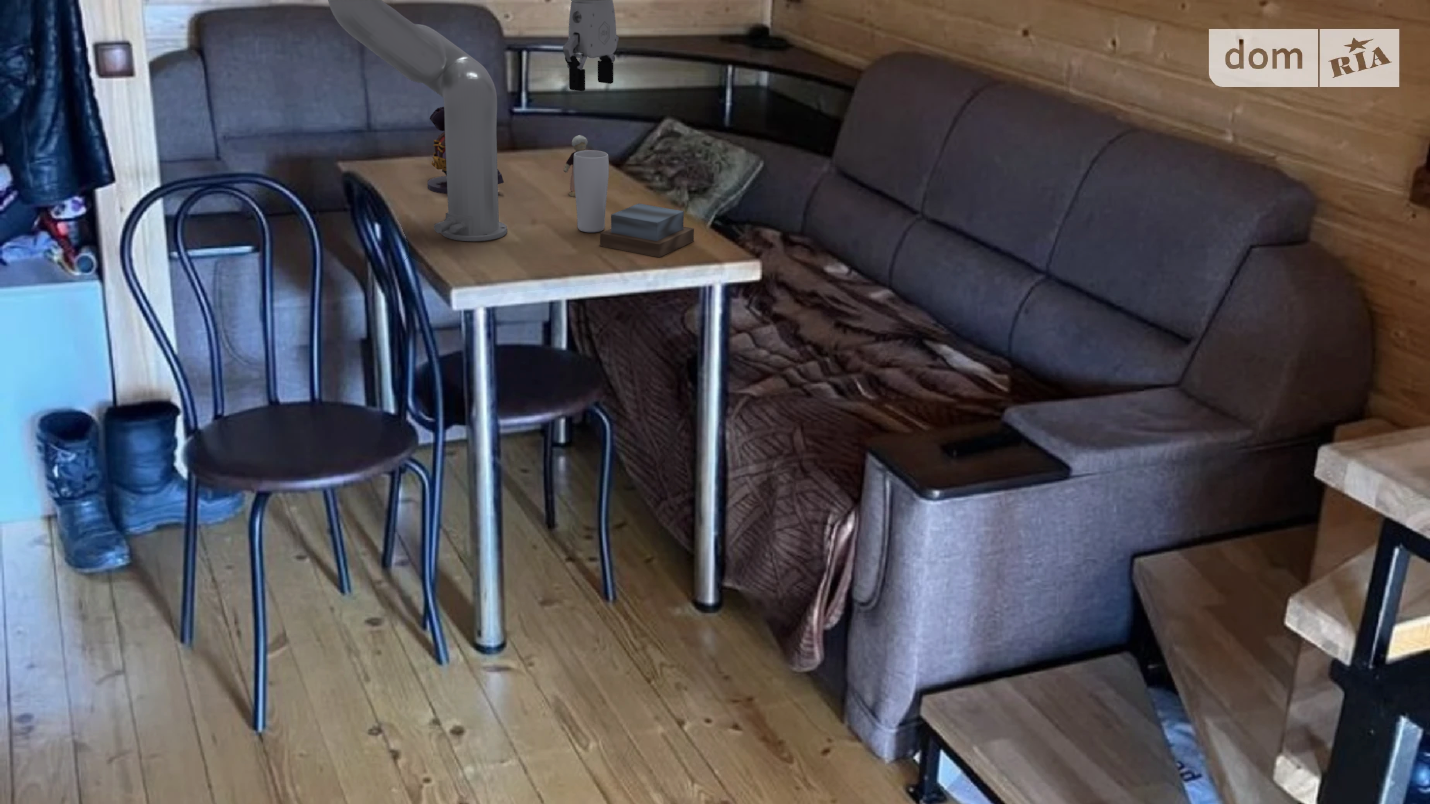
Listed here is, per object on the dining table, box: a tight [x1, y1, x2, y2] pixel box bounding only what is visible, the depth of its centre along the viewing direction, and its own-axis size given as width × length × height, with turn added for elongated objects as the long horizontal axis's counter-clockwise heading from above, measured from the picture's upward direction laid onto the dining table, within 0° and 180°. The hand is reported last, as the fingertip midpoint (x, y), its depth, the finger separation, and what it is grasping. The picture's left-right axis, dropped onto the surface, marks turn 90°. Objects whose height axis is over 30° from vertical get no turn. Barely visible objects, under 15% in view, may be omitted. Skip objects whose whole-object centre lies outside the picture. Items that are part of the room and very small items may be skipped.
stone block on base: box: [599, 203, 695, 258], centre depth 273 cm, size 13×13×6 cm
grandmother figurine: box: [563, 134, 589, 198], centre depth 304 cm, size 8×4×13 cm, turn 143°
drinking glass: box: [573, 149, 610, 234], centre depth 278 cm, size 7×7×15 cm
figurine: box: [427, 106, 505, 195], centre depth 306 cm, size 20×14×17 cm
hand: (591, 86), depth 271 cm, fingers open, 9 cm apart
